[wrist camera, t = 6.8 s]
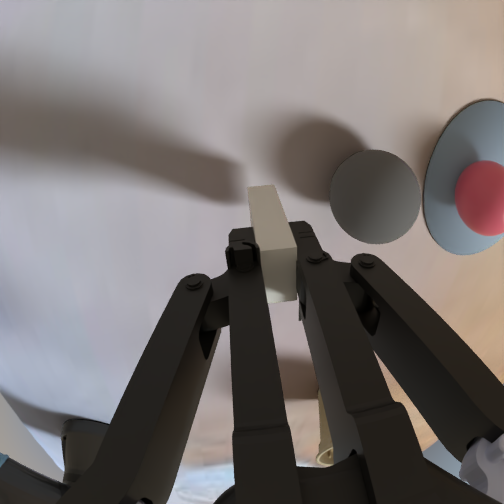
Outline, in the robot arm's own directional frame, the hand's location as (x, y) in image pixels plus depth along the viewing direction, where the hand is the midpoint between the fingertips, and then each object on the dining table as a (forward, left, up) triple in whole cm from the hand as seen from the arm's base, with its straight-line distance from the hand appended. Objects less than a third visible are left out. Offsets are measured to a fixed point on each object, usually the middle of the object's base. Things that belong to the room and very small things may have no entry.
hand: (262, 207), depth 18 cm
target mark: (+19, 0, -2) cm, 19 cm away
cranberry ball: (+16, 0, +1) cm, 16 cm away
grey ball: (+7, 0, +1) cm, 7 cm away
